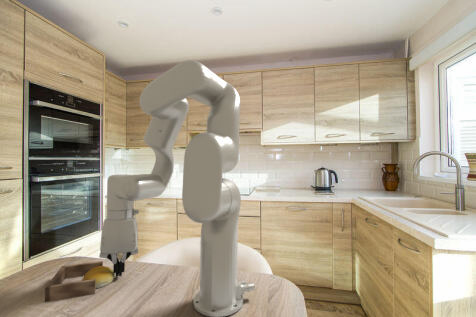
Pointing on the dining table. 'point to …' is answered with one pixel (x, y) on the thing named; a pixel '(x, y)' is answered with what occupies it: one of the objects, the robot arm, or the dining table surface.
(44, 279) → the dining table surface
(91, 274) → the bread roll
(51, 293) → the brown u-shaped frame
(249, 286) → the robot arm
